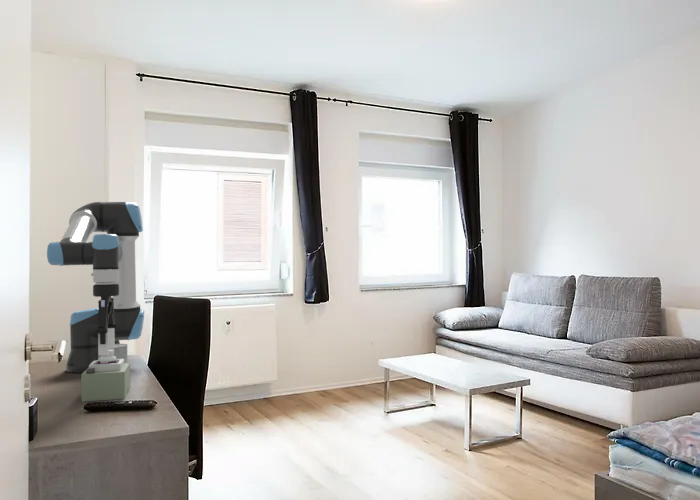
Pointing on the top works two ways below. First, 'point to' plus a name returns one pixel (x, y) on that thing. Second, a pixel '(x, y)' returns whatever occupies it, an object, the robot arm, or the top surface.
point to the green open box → (106, 381)
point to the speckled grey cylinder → (120, 352)
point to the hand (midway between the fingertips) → (106, 351)
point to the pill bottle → (107, 358)
